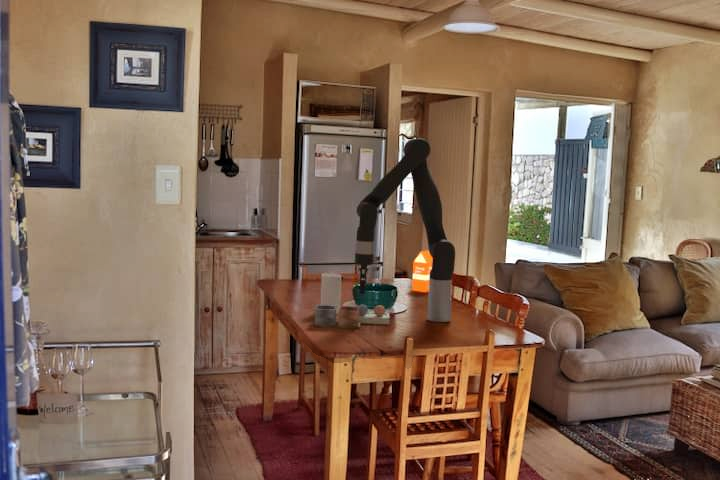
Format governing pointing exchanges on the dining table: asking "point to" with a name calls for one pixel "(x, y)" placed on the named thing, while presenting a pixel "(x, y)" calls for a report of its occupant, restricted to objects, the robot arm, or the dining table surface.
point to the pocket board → (374, 318)
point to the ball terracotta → (379, 310)
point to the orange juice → (422, 271)
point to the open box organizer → (346, 319)
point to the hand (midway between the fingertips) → (362, 292)
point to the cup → (331, 290)
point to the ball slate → (362, 310)
